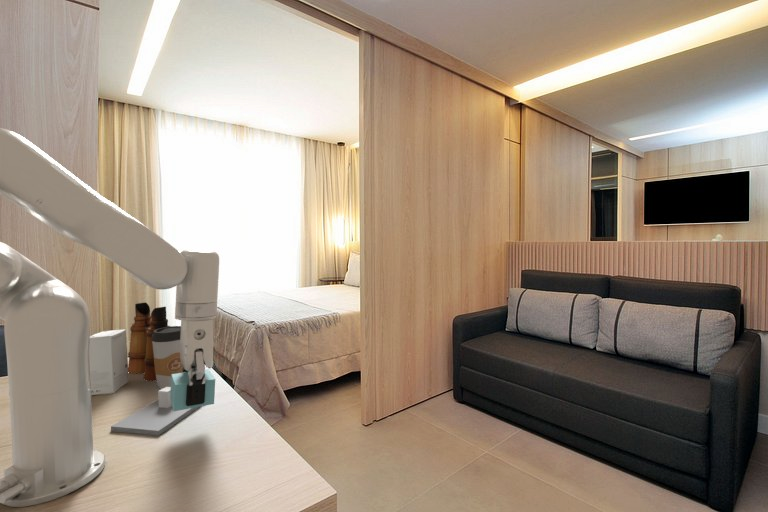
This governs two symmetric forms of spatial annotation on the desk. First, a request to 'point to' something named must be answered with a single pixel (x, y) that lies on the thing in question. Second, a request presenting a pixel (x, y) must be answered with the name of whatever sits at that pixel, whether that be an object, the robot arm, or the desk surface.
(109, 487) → the desk surface
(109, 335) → the skincare box
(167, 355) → the coffee cup
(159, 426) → the board
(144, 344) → the binoculars
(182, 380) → the teal box
